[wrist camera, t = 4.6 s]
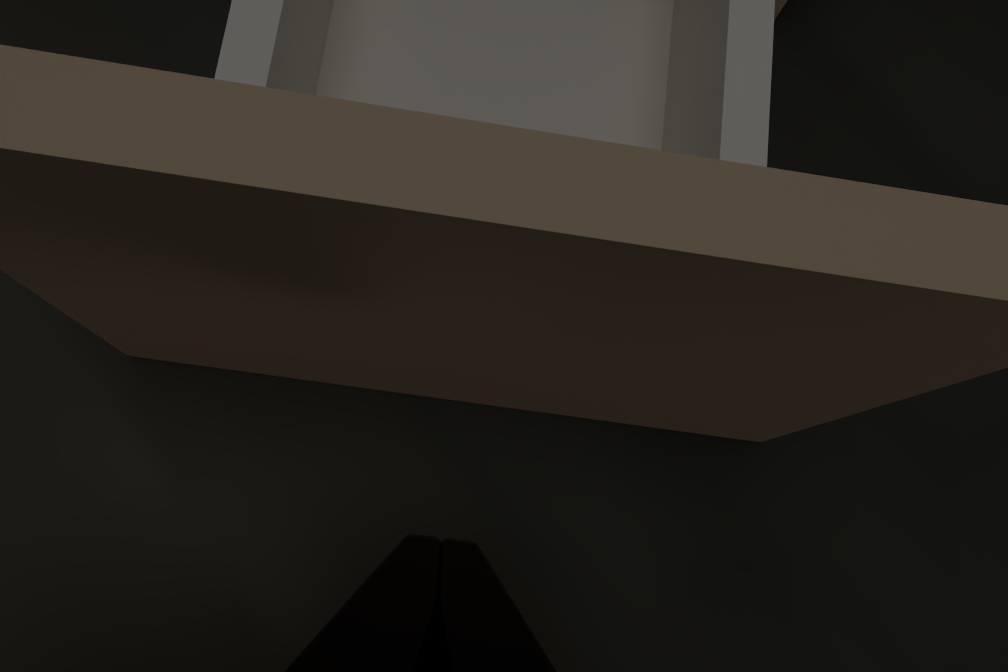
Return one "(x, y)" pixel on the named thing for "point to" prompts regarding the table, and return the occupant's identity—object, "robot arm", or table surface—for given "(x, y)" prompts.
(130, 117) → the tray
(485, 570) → the robot arm
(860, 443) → the table surface
